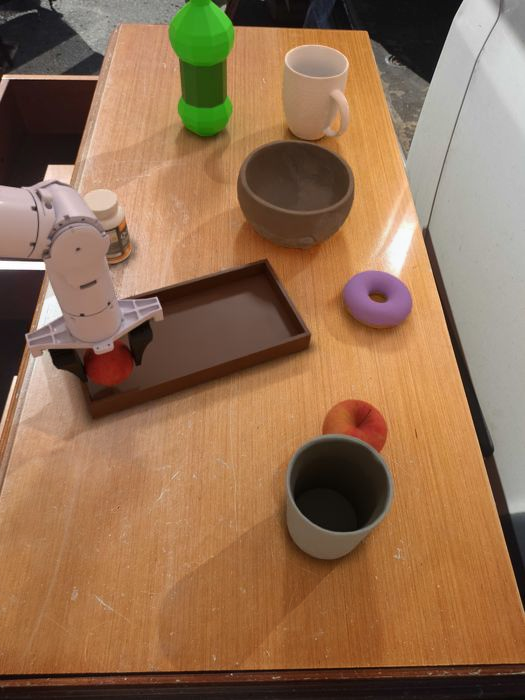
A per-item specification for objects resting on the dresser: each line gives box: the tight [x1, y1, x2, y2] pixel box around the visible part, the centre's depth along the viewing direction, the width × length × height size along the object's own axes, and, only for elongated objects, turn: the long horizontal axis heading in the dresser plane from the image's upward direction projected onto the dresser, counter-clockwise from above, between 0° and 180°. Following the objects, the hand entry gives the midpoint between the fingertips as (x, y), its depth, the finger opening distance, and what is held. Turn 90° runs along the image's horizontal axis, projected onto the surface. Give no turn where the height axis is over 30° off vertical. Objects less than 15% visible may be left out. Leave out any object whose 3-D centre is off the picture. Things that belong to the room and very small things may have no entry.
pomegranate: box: [83, 339, 134, 386], centre depth 67 cm, size 6×6×8 cm
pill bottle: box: [83, 188, 132, 265], centre depth 80 cm, size 6×6×10 cm
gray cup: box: [285, 434, 395, 560], centre depth 57 cm, size 10×10×12 cm
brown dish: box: [75, 257, 312, 420], centre depth 74 cm, size 30×15×3 cm, turn 113°
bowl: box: [236, 139, 356, 250], centre depth 85 cm, size 17×18×10 cm
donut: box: [342, 269, 413, 329], centre depth 79 cm, size 10×9×5 cm
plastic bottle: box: [168, 0, 236, 137], centre depth 93 cm, size 10×10×25 cm
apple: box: [321, 399, 388, 454], centre depth 64 cm, size 7×7×8 cm
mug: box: [281, 44, 351, 141], centre depth 98 cm, size 15×11×13 cm
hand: (110, 367), depth 68 cm, fingers closed on pomegranate, 6 cm apart
